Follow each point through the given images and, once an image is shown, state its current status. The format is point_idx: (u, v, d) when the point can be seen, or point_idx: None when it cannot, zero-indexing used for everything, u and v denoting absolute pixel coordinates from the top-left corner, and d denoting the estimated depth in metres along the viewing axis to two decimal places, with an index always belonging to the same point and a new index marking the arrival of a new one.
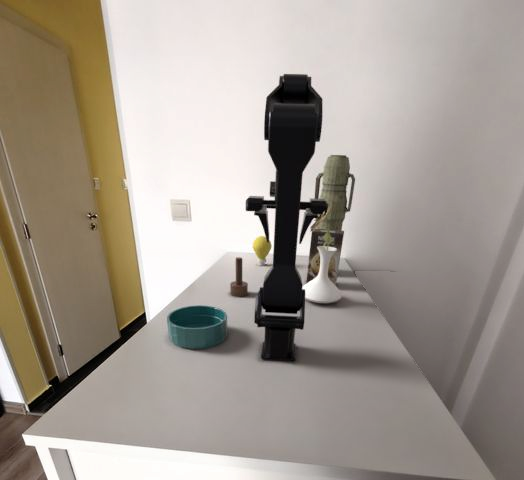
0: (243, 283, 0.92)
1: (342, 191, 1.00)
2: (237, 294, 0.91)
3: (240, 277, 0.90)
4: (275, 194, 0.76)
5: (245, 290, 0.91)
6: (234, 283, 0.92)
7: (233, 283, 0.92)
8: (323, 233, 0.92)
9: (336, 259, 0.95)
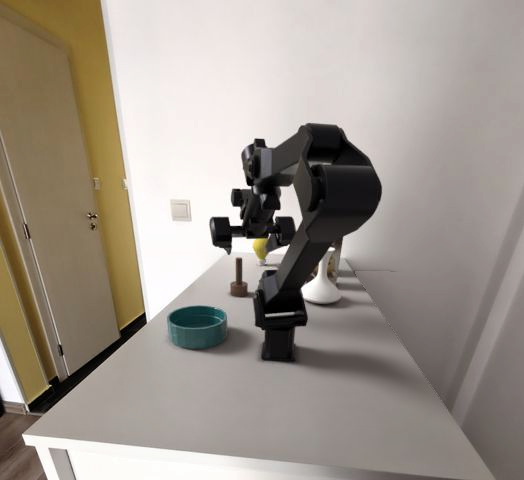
0: (243, 283, 0.92)
1: None
2: (237, 294, 0.91)
3: (240, 277, 0.90)
4: (244, 227, 0.69)
5: (245, 290, 0.91)
6: (234, 283, 0.92)
7: (233, 283, 0.92)
8: None
9: (336, 259, 0.95)
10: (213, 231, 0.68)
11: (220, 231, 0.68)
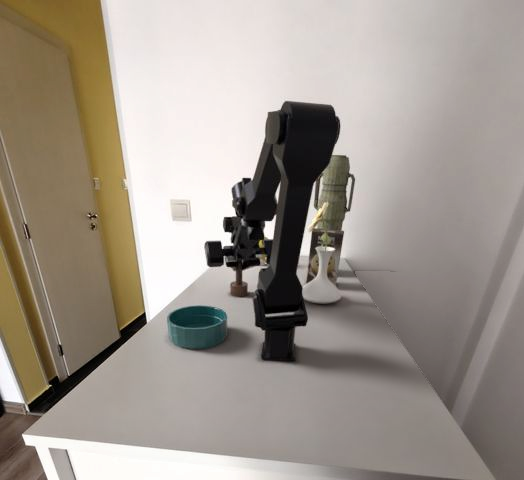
0: (243, 283, 0.92)
1: (342, 191, 1.00)
2: (237, 294, 0.91)
3: (240, 277, 0.90)
4: (234, 250, 0.80)
5: (245, 290, 0.91)
6: (234, 283, 0.92)
7: (233, 283, 0.92)
8: (323, 233, 0.92)
9: (336, 259, 0.95)
10: (207, 254, 0.79)
11: (213, 254, 0.79)
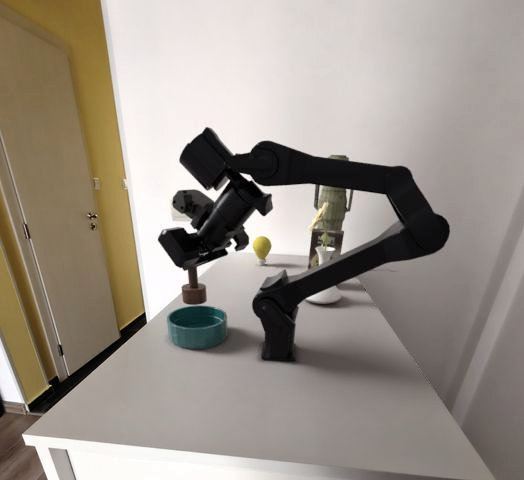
0: (198, 285, 0.67)
1: (342, 191, 1.00)
2: (198, 301, 0.66)
3: (196, 277, 0.65)
4: (208, 238, 0.56)
5: None
6: (188, 287, 0.66)
7: (187, 288, 0.65)
8: (323, 233, 0.92)
9: None
10: (177, 248, 0.52)
11: (186, 247, 0.53)
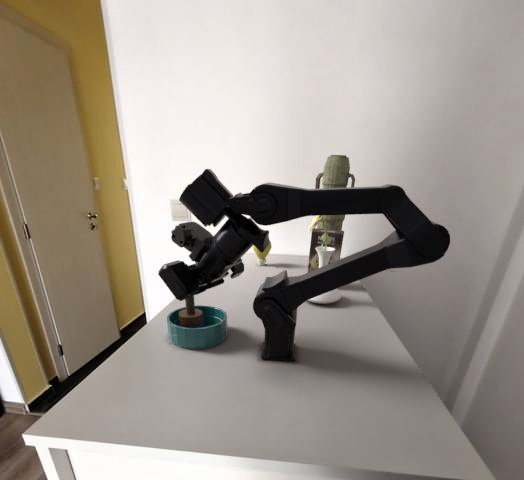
0: (195, 310, 0.69)
1: None
2: (196, 327, 0.67)
3: (193, 304, 0.67)
4: (207, 270, 0.58)
5: (202, 319, 0.69)
6: (185, 314, 0.67)
7: (184, 314, 0.67)
8: (323, 233, 0.92)
9: (336, 259, 0.95)
10: (179, 283, 0.54)
11: (186, 281, 0.55)
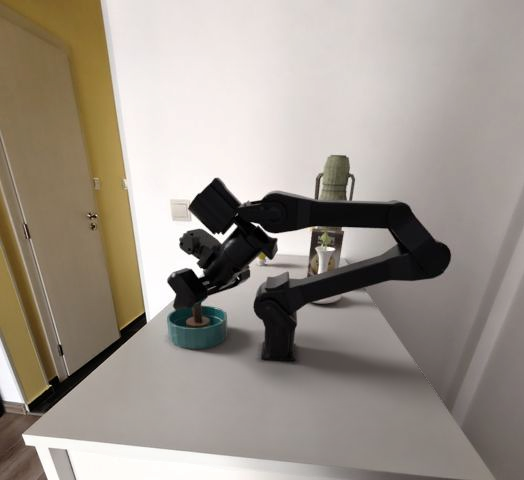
0: (202, 318, 0.69)
1: (342, 191, 1.00)
2: None
3: (201, 312, 0.67)
4: (215, 277, 0.58)
5: None
6: (192, 322, 0.67)
7: (191, 322, 0.67)
8: (323, 233, 0.92)
9: (336, 259, 0.95)
10: (188, 291, 0.54)
11: (195, 289, 0.55)
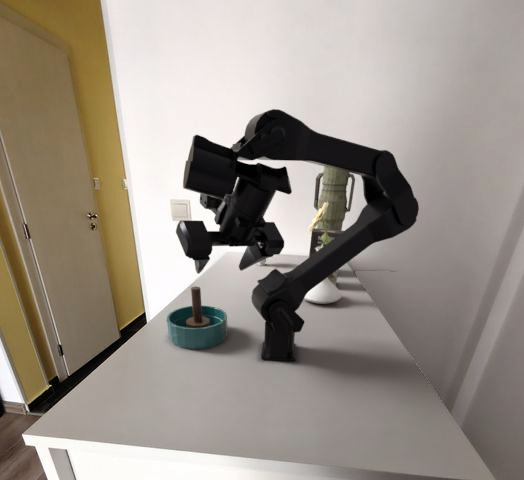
0: (202, 318, 0.69)
1: (342, 191, 1.00)
2: None
3: (201, 312, 0.67)
4: (226, 231, 0.54)
5: None
6: (192, 322, 0.67)
7: (191, 322, 0.67)
8: (323, 233, 0.92)
9: None
10: (187, 237, 0.51)
11: (196, 237, 0.51)
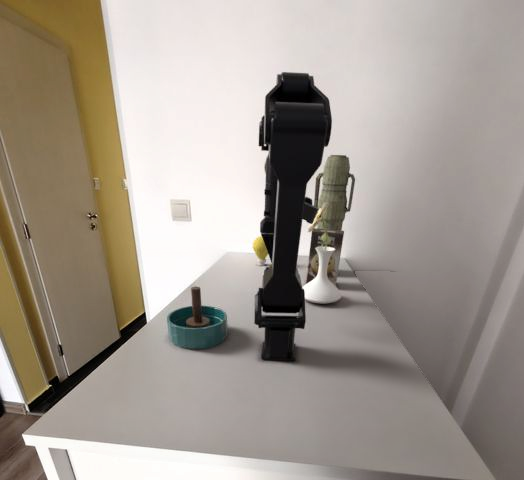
0: (202, 318, 0.69)
1: (342, 191, 1.00)
2: None
3: (201, 312, 0.67)
4: None
5: None
6: (192, 322, 0.67)
7: (191, 322, 0.67)
8: (323, 233, 0.92)
9: (336, 259, 0.95)
10: None
11: None
